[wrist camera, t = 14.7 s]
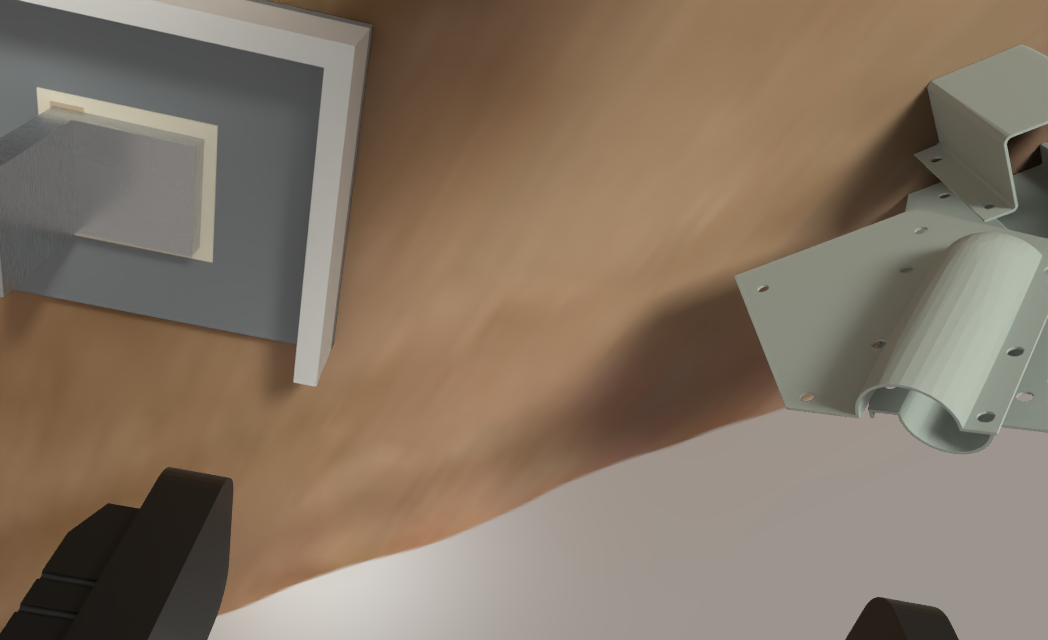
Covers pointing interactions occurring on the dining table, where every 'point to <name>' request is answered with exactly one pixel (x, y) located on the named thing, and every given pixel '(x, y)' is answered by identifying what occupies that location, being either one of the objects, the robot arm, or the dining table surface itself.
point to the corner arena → (209, 152)
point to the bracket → (931, 281)
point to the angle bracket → (95, 188)
